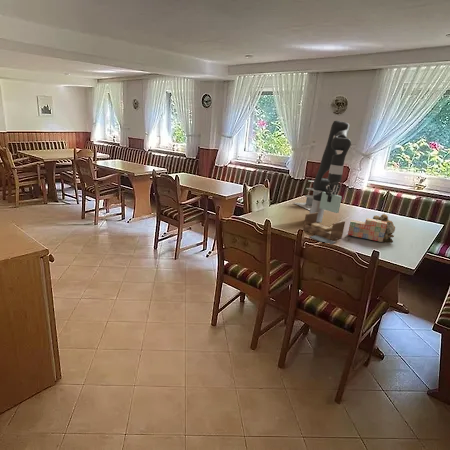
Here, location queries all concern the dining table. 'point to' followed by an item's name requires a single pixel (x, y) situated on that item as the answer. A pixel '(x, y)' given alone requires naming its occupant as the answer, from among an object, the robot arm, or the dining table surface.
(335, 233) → the rack
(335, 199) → the panel
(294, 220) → the dining table surface
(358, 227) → the stack of blocks
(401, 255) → the dining table surface
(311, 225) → the offcut stack
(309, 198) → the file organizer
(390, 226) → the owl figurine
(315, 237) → the pad
